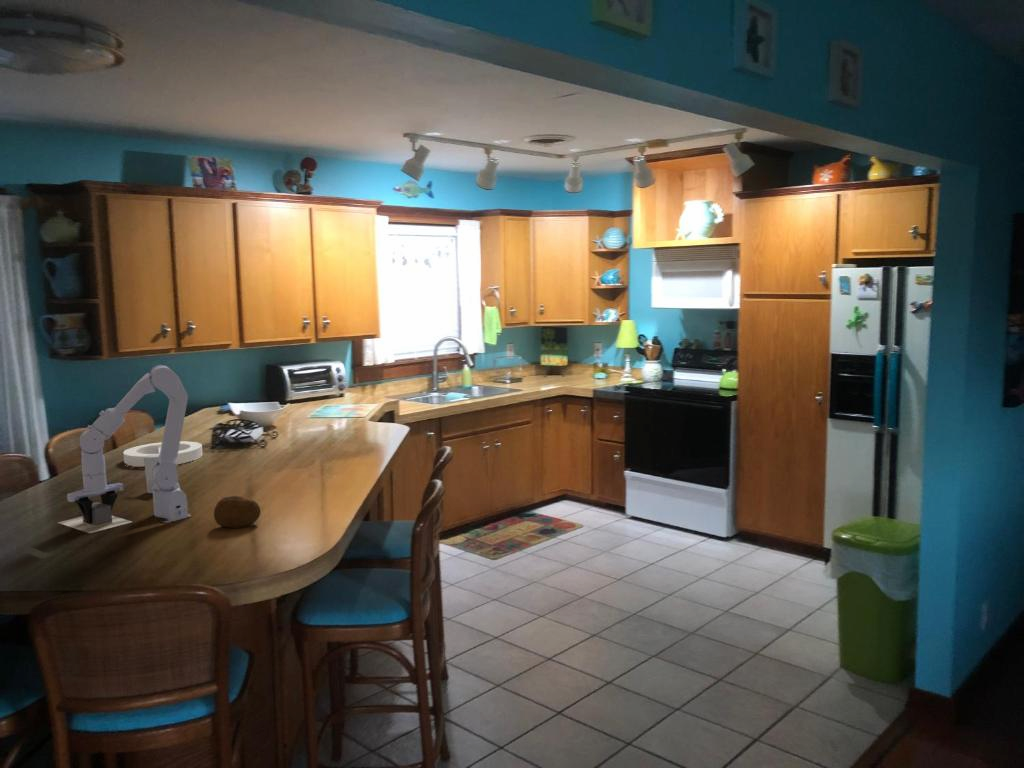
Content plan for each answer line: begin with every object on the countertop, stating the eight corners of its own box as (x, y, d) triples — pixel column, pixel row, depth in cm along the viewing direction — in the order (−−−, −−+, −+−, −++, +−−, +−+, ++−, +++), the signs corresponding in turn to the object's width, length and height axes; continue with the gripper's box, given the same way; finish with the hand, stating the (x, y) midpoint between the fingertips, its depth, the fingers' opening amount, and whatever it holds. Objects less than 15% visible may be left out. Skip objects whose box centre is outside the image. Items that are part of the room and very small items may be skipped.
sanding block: (112, 522, 220) (110, 505, 219) (96, 527, 216) (94, 509, 216) (99, 519, 224) (97, 501, 223) (83, 523, 220) (81, 505, 220)
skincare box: (170, 489, 260) (167, 453, 259) (165, 493, 256) (163, 456, 254) (151, 490, 260) (148, 454, 258) (146, 494, 255) (143, 457, 254)
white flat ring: (165, 471, 289) (164, 458, 288) (107, 466, 298) (106, 454, 298) (218, 455, 315) (217, 443, 314) (163, 451, 324) (162, 439, 324)
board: (133, 525, 221) (132, 521, 221) (90, 537, 211) (89, 533, 211) (99, 516, 231) (99, 511, 231) (57, 526, 222) (56, 522, 221)
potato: (252, 531, 214) (250, 500, 213) (209, 532, 214) (206, 501, 213) (262, 522, 223) (260, 492, 222) (220, 522, 223) (218, 492, 221)
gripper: (112, 466, 226) (116, 512, 228) (60, 477, 214) (64, 525, 216) (125, 469, 222) (129, 515, 224) (73, 480, 210) (77, 529, 212)
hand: (98, 520), depth 220 cm, fingers closed on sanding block, 4 cm apart
